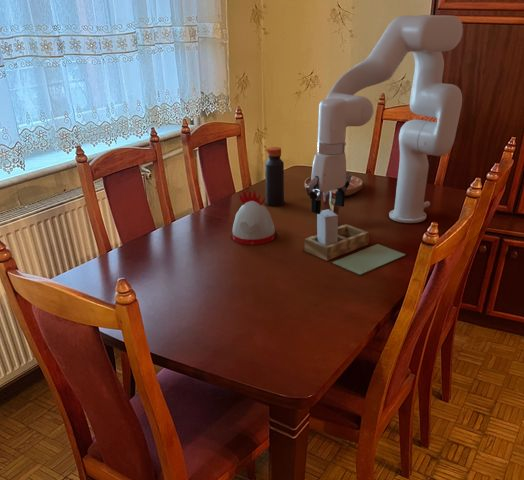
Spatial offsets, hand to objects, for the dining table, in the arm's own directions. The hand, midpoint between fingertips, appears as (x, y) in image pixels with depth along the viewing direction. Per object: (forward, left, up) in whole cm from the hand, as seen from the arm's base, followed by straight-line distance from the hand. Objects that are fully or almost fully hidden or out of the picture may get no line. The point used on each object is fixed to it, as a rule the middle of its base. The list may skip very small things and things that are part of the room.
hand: (327, 209), depth 158 cm
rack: (-5, 0, -13) cm, 14 cm away
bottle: (-18, -45, -14) cm, 50 cm away
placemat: (-6, +12, -13) cm, 19 cm away
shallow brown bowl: (-45, -41, -14) cm, 62 cm away
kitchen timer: (+8, -25, -14) cm, 30 cm away
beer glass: (-16, -14, -14) cm, 25 cm away
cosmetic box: (0, 0, -14) cm, 14 cm away
